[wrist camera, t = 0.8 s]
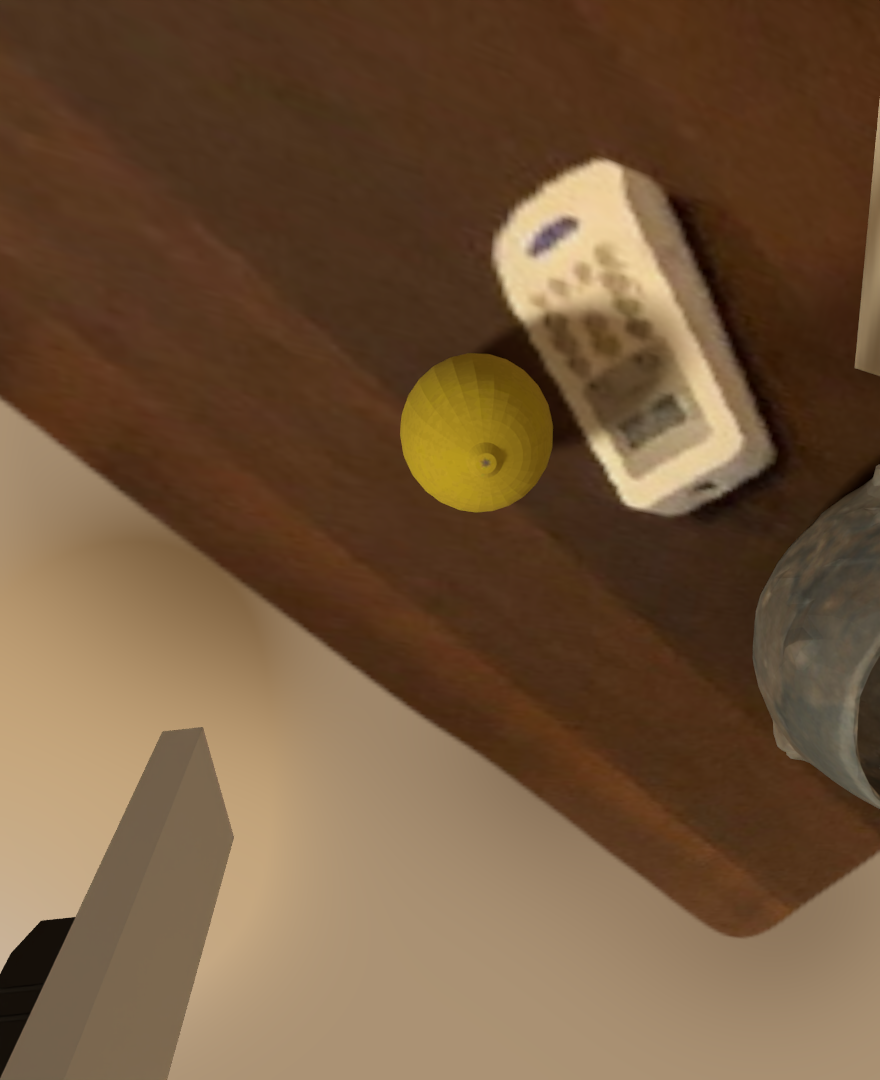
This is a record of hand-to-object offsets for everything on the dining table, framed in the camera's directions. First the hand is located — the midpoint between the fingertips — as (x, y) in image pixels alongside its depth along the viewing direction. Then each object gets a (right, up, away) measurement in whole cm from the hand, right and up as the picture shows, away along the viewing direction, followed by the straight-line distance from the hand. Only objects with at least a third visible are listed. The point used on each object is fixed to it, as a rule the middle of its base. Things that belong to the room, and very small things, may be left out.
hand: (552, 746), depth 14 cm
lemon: (-1, +10, +17) cm, 20 cm away
